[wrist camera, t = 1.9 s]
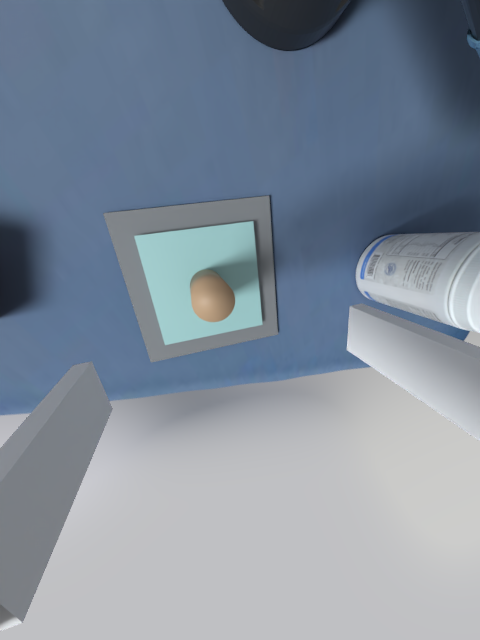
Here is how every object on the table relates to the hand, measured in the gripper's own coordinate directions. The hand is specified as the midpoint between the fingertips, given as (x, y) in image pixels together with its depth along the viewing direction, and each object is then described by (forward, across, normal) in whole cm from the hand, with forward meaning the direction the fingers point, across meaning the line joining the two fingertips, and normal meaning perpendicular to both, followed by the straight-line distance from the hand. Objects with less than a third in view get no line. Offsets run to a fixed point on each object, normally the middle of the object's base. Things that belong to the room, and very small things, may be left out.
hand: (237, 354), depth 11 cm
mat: (+18, 0, 0) cm, 18 cm away
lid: (+18, 0, 0) cm, 18 cm away
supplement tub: (+18, +26, -2) cm, 32 cm away
